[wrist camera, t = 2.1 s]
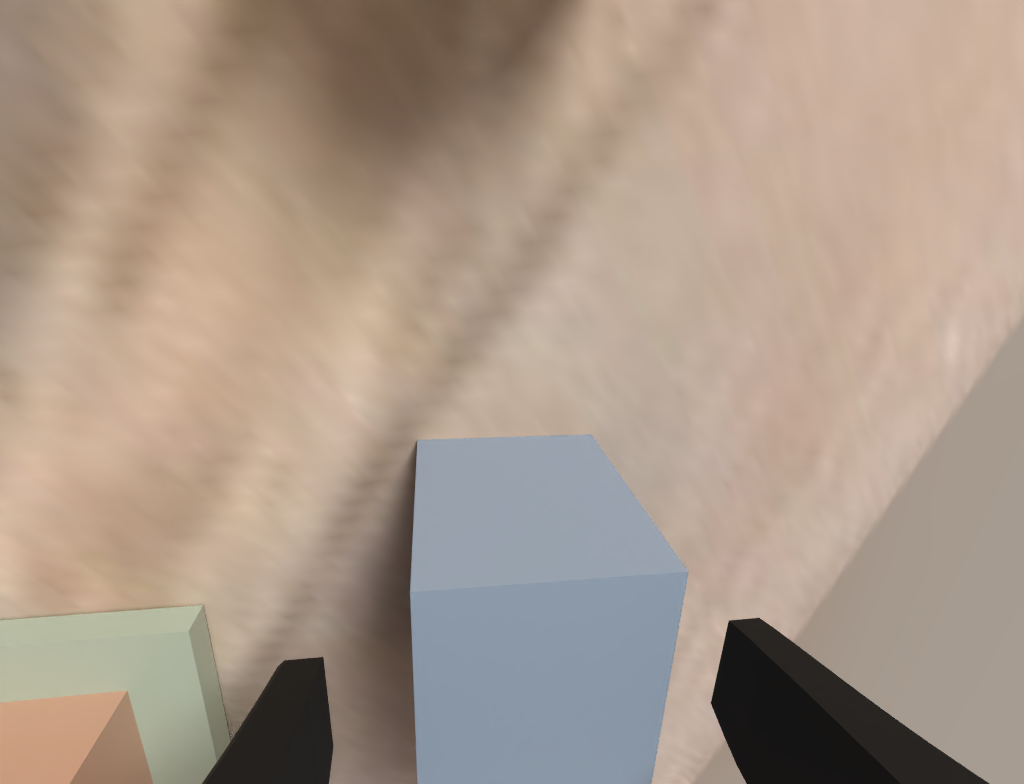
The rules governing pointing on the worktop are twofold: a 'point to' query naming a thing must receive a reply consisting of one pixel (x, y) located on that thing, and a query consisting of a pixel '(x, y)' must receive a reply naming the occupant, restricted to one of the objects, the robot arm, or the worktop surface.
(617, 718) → the blue brick
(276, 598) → the worktop surface
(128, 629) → the tower base
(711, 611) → the worktop surface
